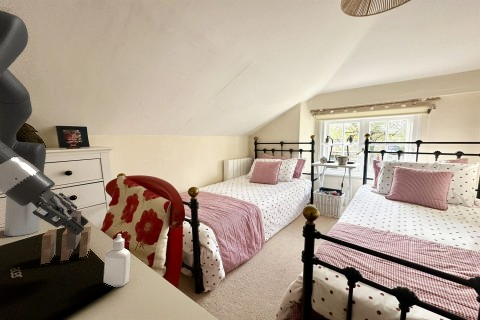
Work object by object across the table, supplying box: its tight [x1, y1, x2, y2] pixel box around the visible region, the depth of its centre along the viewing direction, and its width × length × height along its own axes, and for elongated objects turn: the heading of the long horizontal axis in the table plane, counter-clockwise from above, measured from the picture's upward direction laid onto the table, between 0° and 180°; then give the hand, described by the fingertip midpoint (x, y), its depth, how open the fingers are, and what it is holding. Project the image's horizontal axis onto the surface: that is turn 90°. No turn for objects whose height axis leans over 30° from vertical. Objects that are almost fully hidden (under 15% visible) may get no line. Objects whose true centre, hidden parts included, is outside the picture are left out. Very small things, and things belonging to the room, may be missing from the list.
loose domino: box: [66, 210, 82, 250], centre depth 53 cm, size 2×5×8 cm, turn 27°
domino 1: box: [40, 228, 57, 265], centre depth 60 cm, size 2×5×8 cm, turn 28°
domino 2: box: [60, 228, 74, 262], centre depth 62 cm, size 2×5×8 cm, turn 28°
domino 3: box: [78, 226, 92, 259], centre depth 64 cm, size 2×5×8 cm, turn 28°
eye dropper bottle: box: [103, 233, 131, 288], centre depth 52 cm, size 4×6×12 cm
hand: (83, 227), depth 54 cm, fingers closed on loose domino, 5 cm apart
